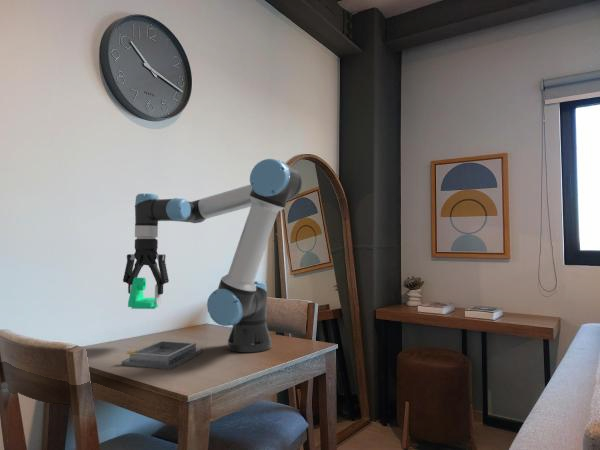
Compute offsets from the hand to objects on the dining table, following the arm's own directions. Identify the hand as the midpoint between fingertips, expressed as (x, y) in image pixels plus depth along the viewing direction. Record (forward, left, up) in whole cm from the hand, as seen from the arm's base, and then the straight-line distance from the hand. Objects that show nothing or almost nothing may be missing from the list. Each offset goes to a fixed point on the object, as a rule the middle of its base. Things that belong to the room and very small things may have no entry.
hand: (145, 303), depth 148 cm
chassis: (-13, +10, -15) cm, 23 cm away
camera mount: (0, 0, -2) cm, 2 cm away
